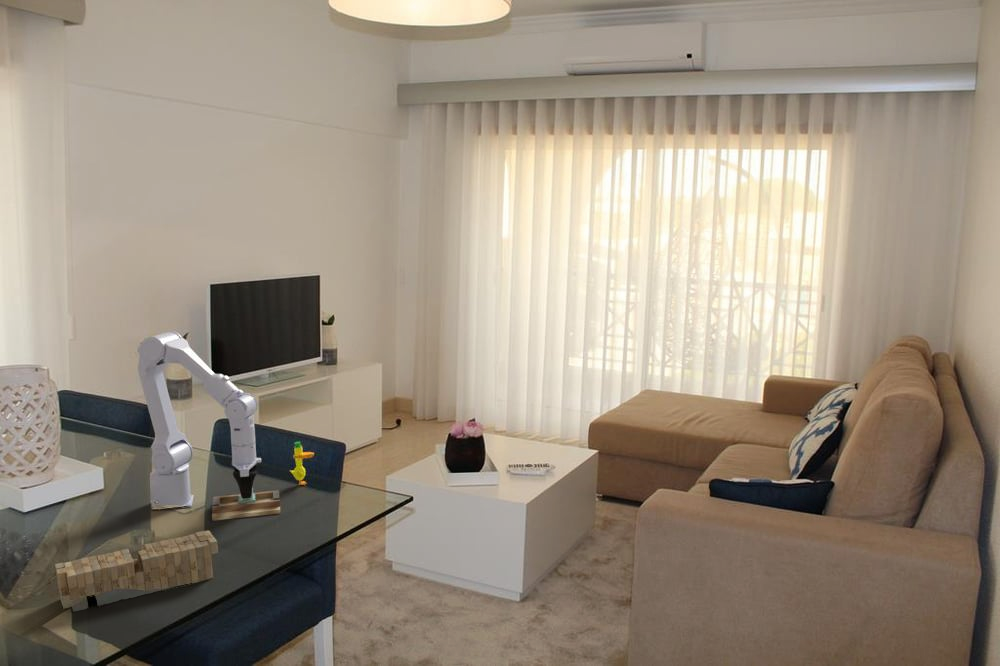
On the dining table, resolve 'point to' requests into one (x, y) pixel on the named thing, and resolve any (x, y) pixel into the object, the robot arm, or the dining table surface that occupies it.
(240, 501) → the slider
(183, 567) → the block tower
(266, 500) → the track
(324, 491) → the dining table surface
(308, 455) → the toy figure
